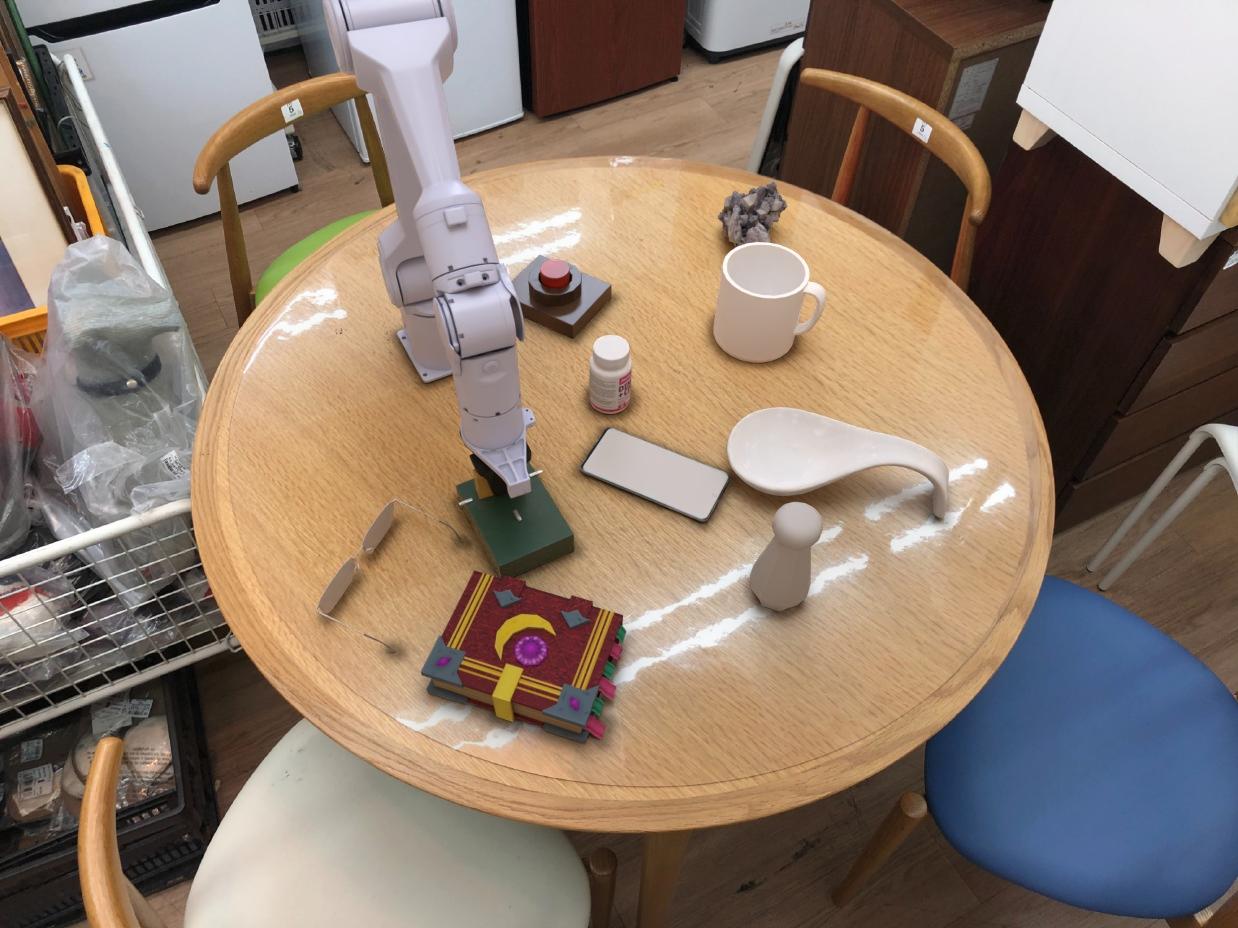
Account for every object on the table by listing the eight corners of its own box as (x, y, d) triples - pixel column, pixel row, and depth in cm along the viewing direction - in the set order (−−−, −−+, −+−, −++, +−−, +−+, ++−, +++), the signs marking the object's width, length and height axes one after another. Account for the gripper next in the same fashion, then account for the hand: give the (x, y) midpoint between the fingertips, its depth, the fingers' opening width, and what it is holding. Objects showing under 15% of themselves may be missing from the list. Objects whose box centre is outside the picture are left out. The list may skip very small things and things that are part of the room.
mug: (700, 348, 108) (709, 282, 100) (728, 299, 114) (739, 233, 106) (799, 380, 105) (817, 315, 97) (823, 328, 111) (841, 263, 103)
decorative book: (478, 590, 87) (473, 563, 83) (636, 638, 84) (638, 612, 80) (427, 694, 80) (418, 670, 76) (597, 750, 77) (597, 728, 73)
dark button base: (500, 306, 112) (497, 281, 109) (540, 267, 117) (538, 243, 114) (573, 339, 109) (572, 314, 106) (611, 297, 114) (612, 273, 111)
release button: (535, 282, 110) (534, 271, 108) (551, 267, 112) (550, 255, 110) (559, 293, 109) (558, 282, 107) (575, 277, 111) (575, 265, 109)
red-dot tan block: (479, 499, 90) (475, 476, 87) (476, 491, 90) (472, 467, 87) (526, 484, 91) (524, 461, 88) (522, 475, 92) (520, 452, 89)
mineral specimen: (769, 262, 113) (769, 180, 110) (702, 263, 117) (700, 184, 115) (800, 254, 123) (800, 179, 120) (737, 256, 128) (736, 183, 125)
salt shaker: (742, 568, 89) (761, 491, 79) (798, 565, 89) (824, 488, 79) (752, 621, 85) (774, 546, 75) (811, 617, 86) (840, 542, 75)
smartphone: (607, 425, 99) (731, 474, 95) (607, 428, 100) (731, 477, 96) (578, 468, 95) (706, 521, 91) (578, 471, 96) (705, 524, 92)
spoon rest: (715, 500, 94) (723, 458, 88) (732, 420, 101) (740, 376, 96) (942, 547, 91) (966, 506, 85) (943, 460, 98) (965, 417, 93)
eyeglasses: (397, 514, 92) (393, 492, 89) (466, 543, 91) (465, 522, 87) (319, 625, 84) (311, 605, 81) (394, 659, 83) (389, 640, 79)
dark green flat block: (445, 490, 94) (441, 472, 92) (524, 459, 97) (523, 440, 94) (496, 585, 87) (493, 568, 85) (579, 548, 90) (579, 530, 87)
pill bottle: (625, 418, 101) (628, 366, 94) (585, 411, 101) (584, 358, 95) (633, 388, 104) (636, 335, 97) (594, 382, 104) (594, 329, 98)
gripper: (560, 437, 77) (564, 526, 87) (503, 330, 85) (513, 424, 95) (482, 462, 75) (496, 550, 85) (432, 350, 83) (450, 443, 93)
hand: (500, 485), depth 90 cm, fingers closed on red-dot tan block
